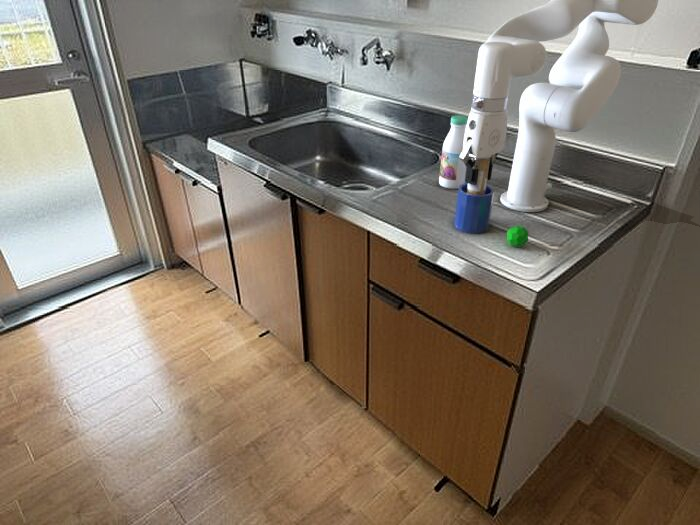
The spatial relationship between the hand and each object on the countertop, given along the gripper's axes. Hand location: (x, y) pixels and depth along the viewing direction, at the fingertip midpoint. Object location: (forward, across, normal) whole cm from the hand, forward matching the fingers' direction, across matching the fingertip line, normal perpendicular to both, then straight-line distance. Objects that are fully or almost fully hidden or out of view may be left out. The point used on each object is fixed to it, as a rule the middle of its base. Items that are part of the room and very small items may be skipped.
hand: (477, 180), depth 118 cm
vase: (+12, 0, 0) cm, 12 cm away
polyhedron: (+13, +1, -13) cm, 18 cm away
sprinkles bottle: (+6, 0, 0) cm, 6 cm away
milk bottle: (+12, +16, +21) cm, 29 cm away
